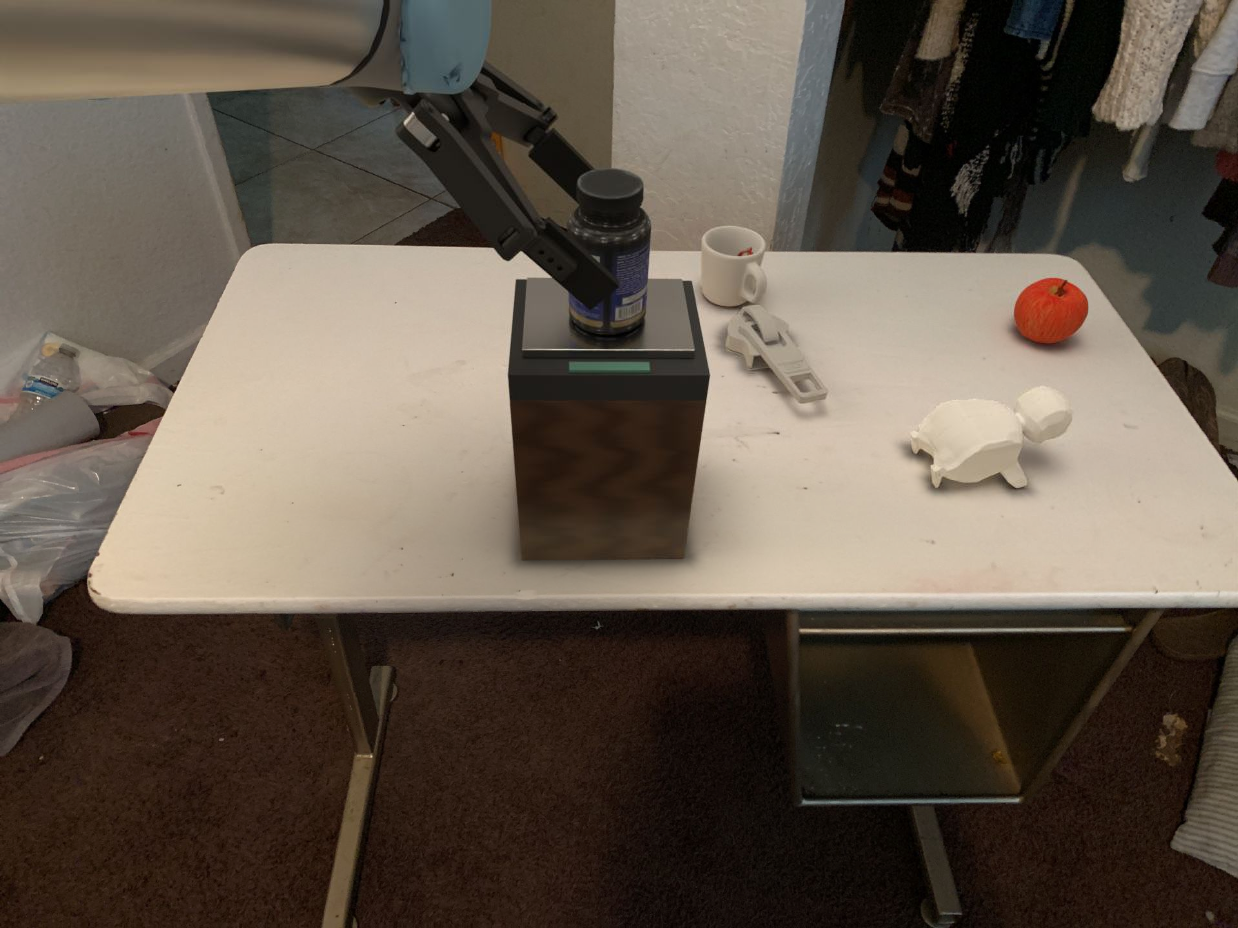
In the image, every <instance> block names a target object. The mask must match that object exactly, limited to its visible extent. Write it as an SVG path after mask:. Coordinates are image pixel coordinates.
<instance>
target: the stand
mask: <svg viewBox="0 0 1238 928" xmlns="http://www.w3.org/2000/svg"><path fill="white" fill-rule="evenodd" d="M706 407H707V400H706V401H510V400H509V411H510V425H511V441H512V453H513V465H514V478H515V479H514V480H515V493H516V506H517V507H516V508H517V522H518V534H519V535H518V536H519V537H518V538H519V548H520V560H521V561H543V560H544V561H545V560H547V561H550V560H551V561H552V560H553V561H557V560H633V559H634V560H639V559H640V560H642V559H643V560H649V559H656V560H657V559H685V554H686V547H687V540H688V533H689V527H690V519H691V512H692V505H693V499H694V498H693V497H694V491H695V484H696V477H697V471H698V462H699V456H700V450H701V442H702V435H703V429H704V420H705V414H706V409H707V408H706Z"/></svg>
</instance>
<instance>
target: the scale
mask: <svg viewBox="0 0 1238 928" xmlns="http://www.w3.org/2000/svg"><path fill="white" fill-rule="evenodd" d="M568 297H569V296H568V291H567V290H566V289H565V288H564V287H562V286H561V285H560V284H559V283H558V282H557V281H555V280H554V279H553V278H552V277H526V278H522V279H521V278H516V279H515V285H514V296H513V307H512V320H511V333H510V343H509V356H508V365H507V366H508V368H507V382H508V383H507V384H508V396H509V397H508V398H509V402H510V401H706V402H707V401H708V395H709V394H708V393H709V386H710V378H711V372H710V367H709V362H708V357H707V351H706V347H705V342H704V337H703V331H702V326H701V320H700V316H699V311H698V305H697V300H696V295H695V289H694V285H693V280H683V279H682V278H648V287H647V305H646V314H645V317H644V319H643V320H642V322H641V323H640V324H639V325H638V326H637V327H635V328H634V329H632V330H629V331H627V332H623V333H618V334H596V333H592V332H588V331H586V330H584V329H582V328H580V327H578V326H577V325H576V324H575V323H574V322H573V320H572V319H571V317H570V315H569V303H568Z"/></svg>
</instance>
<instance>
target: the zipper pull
mask: <svg viewBox="0 0 1238 928" xmlns="http://www.w3.org/2000/svg"><path fill="white" fill-rule="evenodd" d="M726 330H727V336H726V338H725V342H724V345H725V350H726V351H727V352H729V353H732V354H735V355H739V356H741V357H742V358H743V360H744V361H745V365H746V369H747V370H748V371H757V370H761V369H768V368H770V370H771V371H772V372H773V373H774V375H776V377H777V378H778V380H780V382H781V383H782V384H783V385H784V387H785V388H786V389H787V391H788V392H789V393H790V395H791V396H792V398H794V400H795V401H796V402H797V403H798V404H801V405H802V404H809V403H810V404H811V403H815V402H819V401H824V400H826V399H827V397H828V393H829V390H828V388H827V386H826V385H825V384H824V382H823V380H822V379H821V378H820V377H819V376H818V374H817V373H816V372H815V370H814V369H813V367H812V366H811V365H810V363H809V362H808V360H807V359H806V357H805V356H804V355H803V353H802V352H801V351H800V350H799V348H798V347H799V345H798V344H797V343H795V342H794V341H793V340H792V339H791V337H790V336H789V335H788V333H789V330H790V324H789V323H788V322H787V321H786V320H783V319H782V318H780V317H778V316H775V315H773V314H770V313H769V311H768V310H767V309H766V308H765V307H764V306H763V305H761V304H759V303H758V304H753V305H746V306H742V308H741V309H740V311H739V312H738V313H736V314H735V315H733V316H732V317H731V319H730V320H729V322H728V324H727V329H726ZM805 380H809V381H810V382H811V383H812V386H813V387H814V388H815V389H816V390H811V391H806V392H802V391H801V390H800V389H799V387H798V385H796V384H795V382H798V381H805Z"/></svg>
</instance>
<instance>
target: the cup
mask: <svg viewBox="0 0 1238 928" xmlns="http://www.w3.org/2000/svg"><path fill="white" fill-rule="evenodd" d="M700 246H701V257H700V263H701V266H700V268H701V269H700V273H701V274H700V276H701V277H700V283H701V284H700V285H701V291H702V294H703V296H704V298H706V299H707V300H708V301H709V302H710V303H712V304H715V305H718V306H721V307H736V306H740V305H743V304H745V303H746V302H749V303H751V304H753V303H754V304H755V303H758V302H761V301H762V300H763V298H764V297H765V295H766V293H767V288H768V279H767V276H766V273H765V271H764V270H763V268H761V266H762V263H763V260H764V256H765V253H766V250H767V244H766V241H765V239H764V238H763V237H762V236H761V234H759V233H758V232H756V231H754V230H752V229H751V228H748V227H747V228H746V227H743V226H737V225H722V226H717V227H713V228H711V229H708V230H707V231H706V232H705V233H704V234H703V236H702V238H701V245H700ZM754 290H755V292H754Z"/></svg>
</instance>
